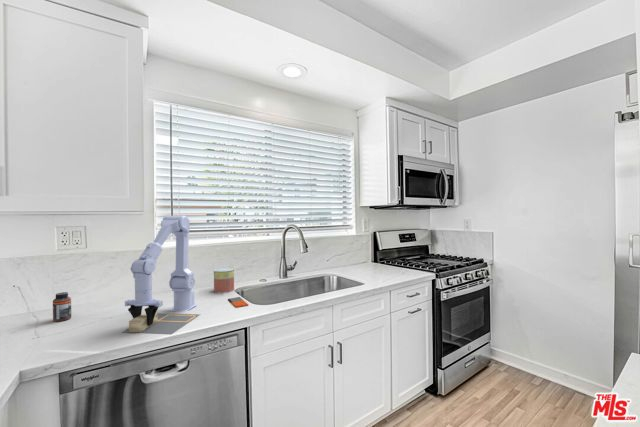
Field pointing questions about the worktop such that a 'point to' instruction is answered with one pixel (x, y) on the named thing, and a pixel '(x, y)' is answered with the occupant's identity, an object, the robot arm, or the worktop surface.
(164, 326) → the rubber mat
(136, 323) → the cream block
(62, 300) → the supplement bottle
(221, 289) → the canned food
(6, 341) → the worktop surface
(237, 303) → the phone
